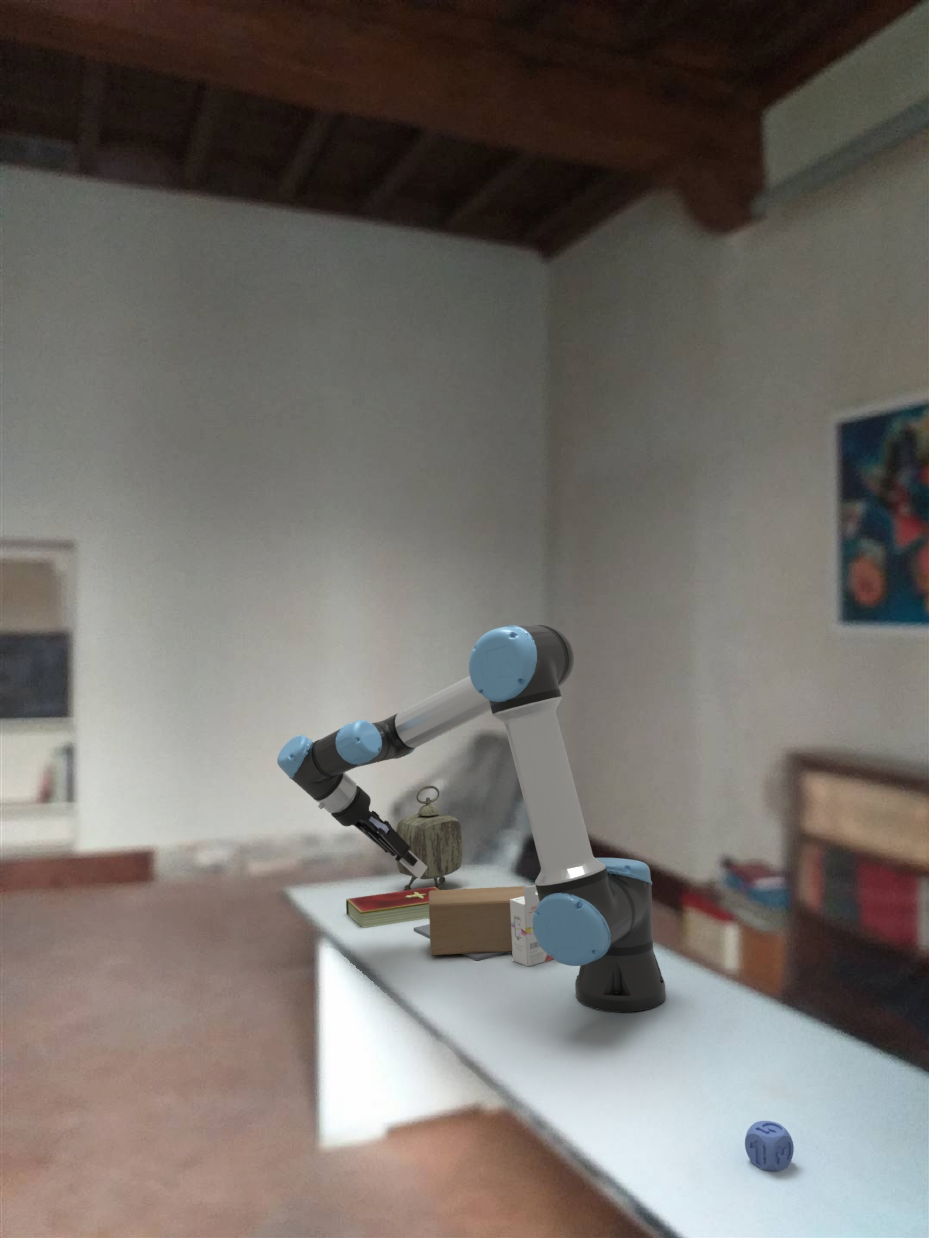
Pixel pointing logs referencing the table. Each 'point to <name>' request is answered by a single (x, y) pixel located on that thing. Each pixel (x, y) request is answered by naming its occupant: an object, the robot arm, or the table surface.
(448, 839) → the tabletop clock
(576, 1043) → the table surface
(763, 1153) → the decorative dice
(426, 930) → the mat
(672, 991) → the table surface
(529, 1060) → the table surface
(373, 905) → the hardcover book
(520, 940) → the ink cartridge box
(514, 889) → the wooden block
